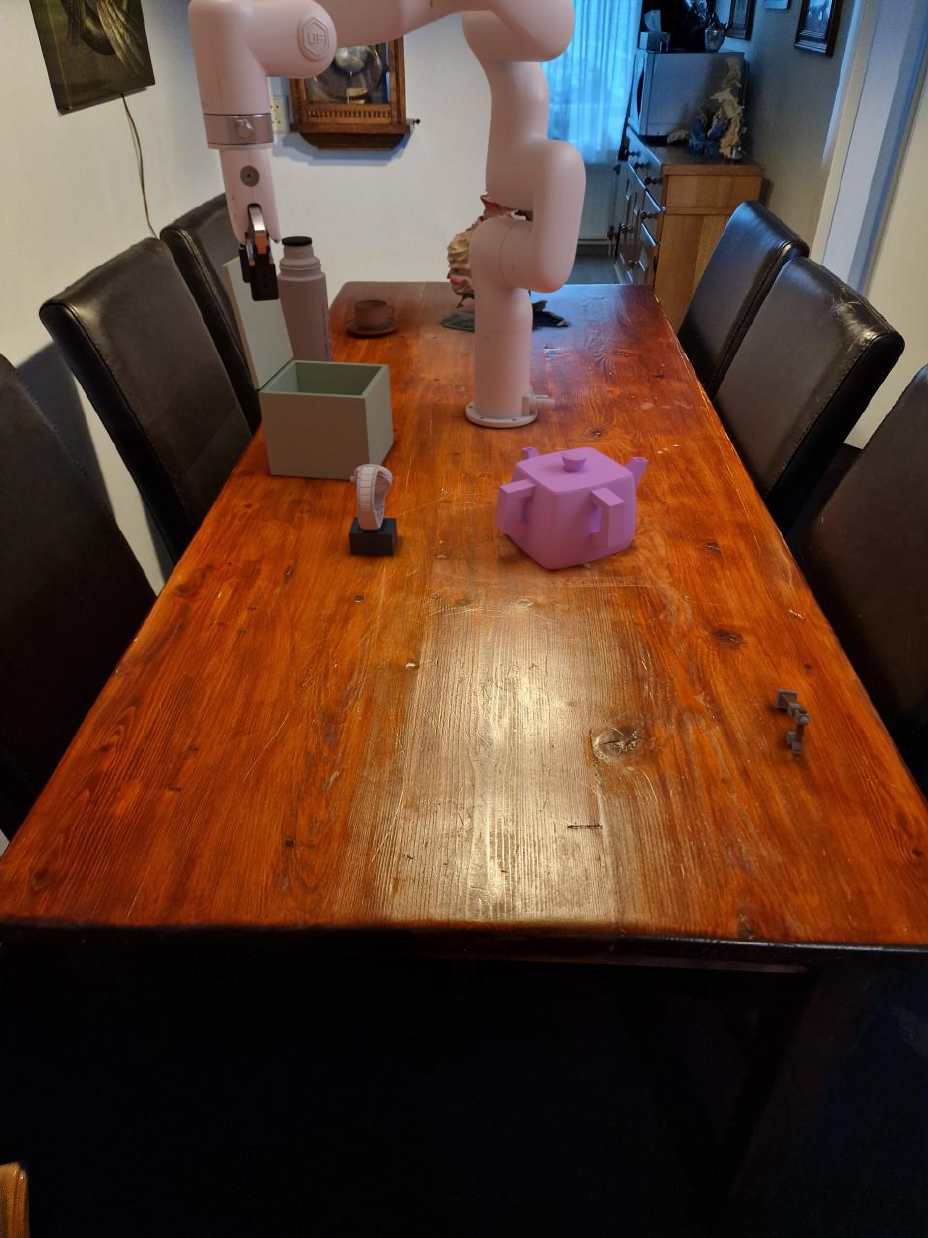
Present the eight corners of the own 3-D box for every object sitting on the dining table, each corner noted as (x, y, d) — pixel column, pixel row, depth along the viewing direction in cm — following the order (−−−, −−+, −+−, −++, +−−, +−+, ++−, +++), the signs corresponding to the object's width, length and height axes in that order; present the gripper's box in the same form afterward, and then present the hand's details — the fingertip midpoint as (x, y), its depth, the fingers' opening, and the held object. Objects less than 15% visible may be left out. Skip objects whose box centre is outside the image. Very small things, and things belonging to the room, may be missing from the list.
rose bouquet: (492, 300, 207) (494, 166, 190) (579, 324, 190) (590, 178, 173) (414, 319, 193) (409, 177, 176) (501, 347, 176) (504, 191, 158)
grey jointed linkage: (787, 759, 73) (795, 711, 72) (771, 731, 81) (778, 687, 80) (809, 762, 73) (817, 714, 72) (790, 733, 81) (797, 689, 80)
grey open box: (393, 442, 134) (389, 364, 127) (371, 481, 122) (365, 397, 115) (301, 436, 136) (291, 359, 129) (270, 474, 124) (257, 392, 117)
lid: (266, 242, 119) (261, 243, 119) (227, 265, 107) (221, 265, 107) (293, 356, 128) (288, 356, 129) (260, 388, 116) (254, 389, 117)
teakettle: (489, 563, 103) (491, 473, 96) (520, 503, 116) (523, 420, 109) (624, 583, 99) (636, 491, 92) (640, 519, 112) (652, 434, 105)
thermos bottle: (343, 398, 151) (328, 233, 135) (329, 414, 144) (311, 243, 128) (302, 395, 152) (283, 231, 136) (286, 411, 146) (264, 241, 129)
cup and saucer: (369, 321, 192) (368, 294, 189) (409, 329, 187) (408, 301, 183) (334, 333, 184) (332, 305, 181) (374, 342, 179) (373, 313, 175)
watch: (399, 531, 110) (395, 455, 103) (391, 562, 103) (386, 483, 97) (358, 530, 110) (351, 454, 104) (347, 561, 103) (339, 482, 97)
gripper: (284, 138, 87) (302, 305, 97) (263, 125, 100) (280, 273, 110) (212, 139, 85) (237, 310, 95) (200, 127, 98) (223, 277, 108)
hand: (260, 290), depth 102 cm, fingers open, 9 cm apart
